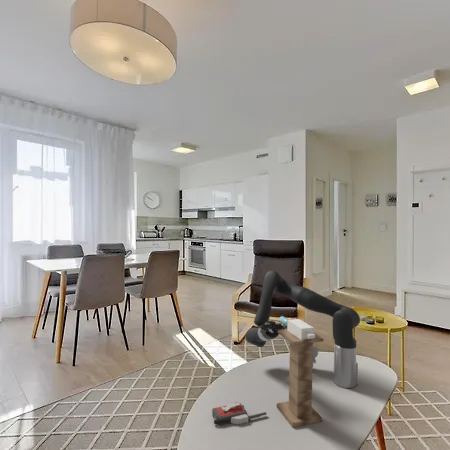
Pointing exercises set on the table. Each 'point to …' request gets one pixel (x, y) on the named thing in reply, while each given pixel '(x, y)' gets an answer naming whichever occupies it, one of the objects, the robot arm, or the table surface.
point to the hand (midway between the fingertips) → (283, 323)
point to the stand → (300, 382)
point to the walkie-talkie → (232, 414)
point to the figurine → (315, 353)
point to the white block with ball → (298, 328)
